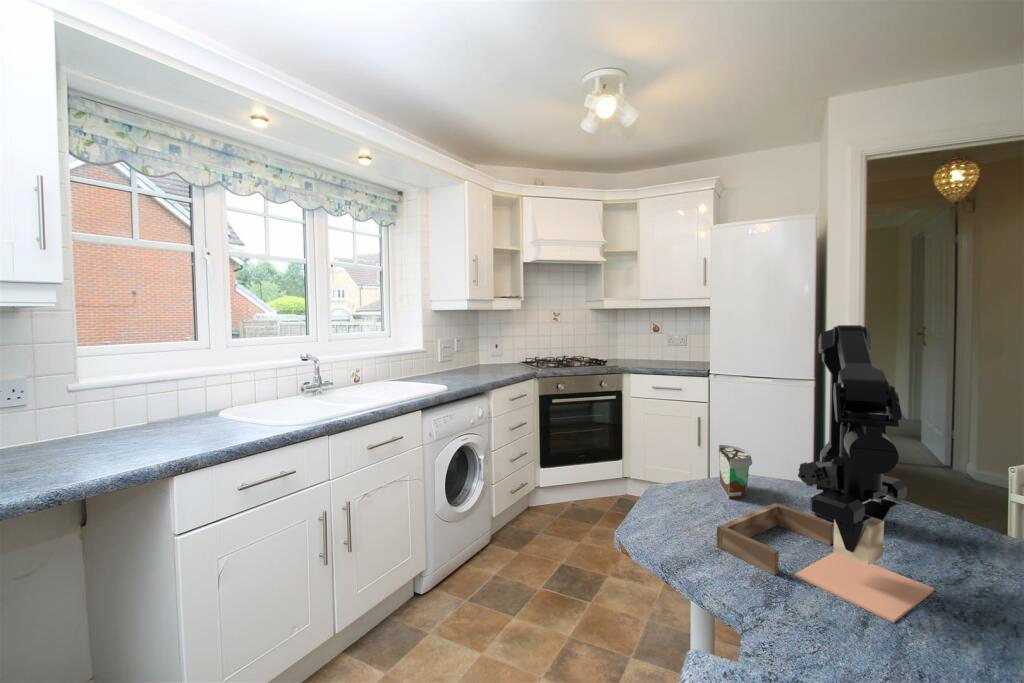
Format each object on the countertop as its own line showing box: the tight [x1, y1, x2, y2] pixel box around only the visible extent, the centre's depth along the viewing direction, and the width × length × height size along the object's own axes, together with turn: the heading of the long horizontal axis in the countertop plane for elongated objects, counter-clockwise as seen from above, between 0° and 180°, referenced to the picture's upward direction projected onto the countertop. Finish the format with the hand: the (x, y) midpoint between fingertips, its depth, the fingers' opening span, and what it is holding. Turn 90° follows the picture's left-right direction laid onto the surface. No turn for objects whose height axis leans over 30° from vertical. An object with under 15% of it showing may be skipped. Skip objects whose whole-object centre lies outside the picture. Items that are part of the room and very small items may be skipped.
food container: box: [718, 444, 753, 500], centre depth 115 cm, size 12×6×10 cm, turn 168°
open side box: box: [716, 502, 834, 576], centre depth 90 cm, size 19×11×4 cm, turn 120°
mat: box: [794, 551, 935, 624], centre depth 78 cm, size 14×14×1 cm
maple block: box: [832, 515, 885, 566], centre depth 78 cm, size 5×5×6 cm
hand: (858, 546), depth 78 cm, fingers closed on maple block, 5 cm apart
